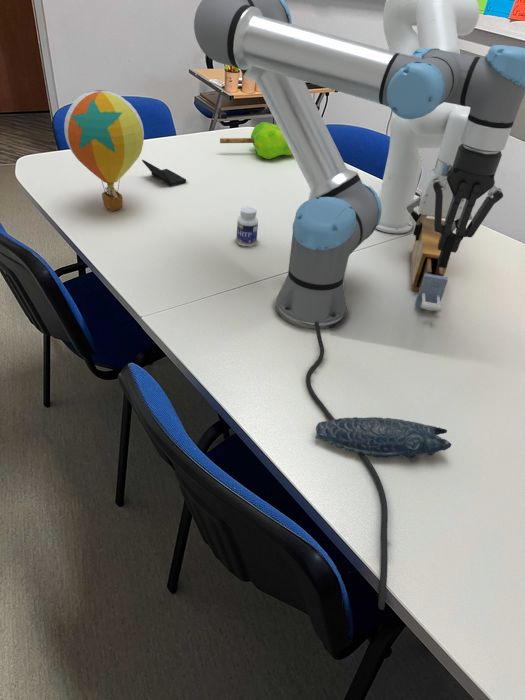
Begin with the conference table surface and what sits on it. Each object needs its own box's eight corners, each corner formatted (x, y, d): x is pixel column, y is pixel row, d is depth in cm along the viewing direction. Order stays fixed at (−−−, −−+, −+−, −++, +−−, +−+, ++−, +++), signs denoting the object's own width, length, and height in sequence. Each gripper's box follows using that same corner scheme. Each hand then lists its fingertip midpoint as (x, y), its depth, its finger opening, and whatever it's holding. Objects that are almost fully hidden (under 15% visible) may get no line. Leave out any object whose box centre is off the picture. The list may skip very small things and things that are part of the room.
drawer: (438, 324, 111) (449, 292, 106) (415, 320, 112) (425, 288, 107) (434, 270, 129) (444, 241, 124) (414, 267, 130) (423, 237, 124)
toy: (64, 203, 145) (44, 85, 127) (127, 189, 156) (117, 79, 137) (97, 229, 134) (80, 105, 116) (162, 213, 145) (156, 96, 126)
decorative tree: (217, 118, 187) (297, 118, 193) (217, 148, 194) (295, 147, 199) (223, 133, 174) (309, 132, 179) (223, 164, 180) (306, 163, 185)
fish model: (449, 471, 80) (458, 449, 77) (314, 454, 81) (318, 432, 78) (442, 439, 86) (450, 418, 83) (315, 423, 87) (319, 401, 84)
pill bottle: (233, 243, 134) (234, 211, 128) (240, 235, 138) (242, 203, 132) (252, 248, 133) (254, 215, 127) (259, 239, 137) (261, 208, 131)
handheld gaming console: (190, 175, 164) (173, 153, 156) (179, 193, 163) (161, 172, 155) (166, 170, 170) (147, 148, 162) (155, 188, 169) (136, 167, 161)
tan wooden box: (437, 294, 122) (450, 257, 116) (411, 290, 123) (422, 252, 116) (434, 255, 137) (445, 220, 131) (411, 251, 138) (421, 216, 131)
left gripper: (515, 146, 94) (472, 261, 109) (442, 136, 95) (409, 250, 110) (522, 159, 88) (475, 279, 103) (444, 148, 90) (409, 267, 104)
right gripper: (488, 168, 120) (464, 239, 131) (413, 158, 122) (395, 228, 133) (493, 179, 114) (467, 253, 125) (413, 168, 116) (395, 241, 127)
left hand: (441, 264), depth 107 cm, fingers closed
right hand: (430, 239), depth 129 cm, fingers closed on tan wooden box, 6 cm apart
